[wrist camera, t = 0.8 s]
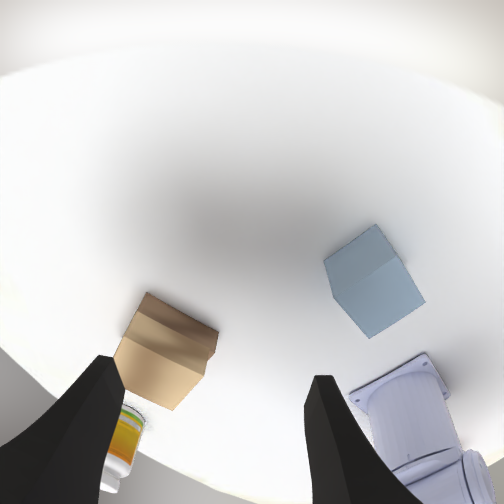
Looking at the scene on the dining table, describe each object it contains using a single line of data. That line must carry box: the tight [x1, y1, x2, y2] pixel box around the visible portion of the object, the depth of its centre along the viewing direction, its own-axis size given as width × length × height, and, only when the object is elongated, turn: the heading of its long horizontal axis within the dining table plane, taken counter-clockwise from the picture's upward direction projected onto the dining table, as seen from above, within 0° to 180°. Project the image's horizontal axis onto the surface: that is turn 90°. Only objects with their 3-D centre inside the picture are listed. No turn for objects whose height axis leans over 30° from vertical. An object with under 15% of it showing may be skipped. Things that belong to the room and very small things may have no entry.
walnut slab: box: [113, 292, 219, 361], centre depth 23 cm, size 6×6×2 cm
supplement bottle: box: [100, 404, 145, 493], centre depth 26 cm, size 5×5×10 cm
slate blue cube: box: [324, 224, 426, 339], centre depth 18 cm, size 4×4×4 cm
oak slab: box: [114, 311, 210, 411], centre depth 20 cm, size 6×6×2 cm
